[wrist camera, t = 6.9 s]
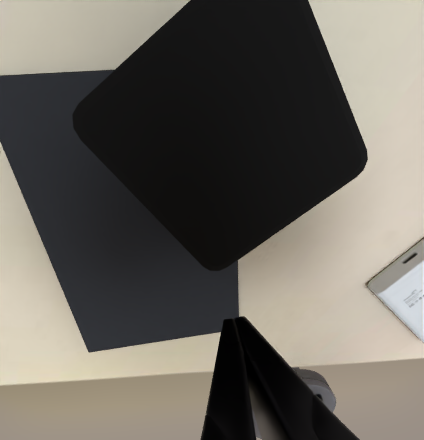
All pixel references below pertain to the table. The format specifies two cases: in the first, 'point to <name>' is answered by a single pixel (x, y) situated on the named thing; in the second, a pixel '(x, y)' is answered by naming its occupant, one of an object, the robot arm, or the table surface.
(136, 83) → the electronic device
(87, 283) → the mat
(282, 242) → the table surface
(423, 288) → the hard drive
